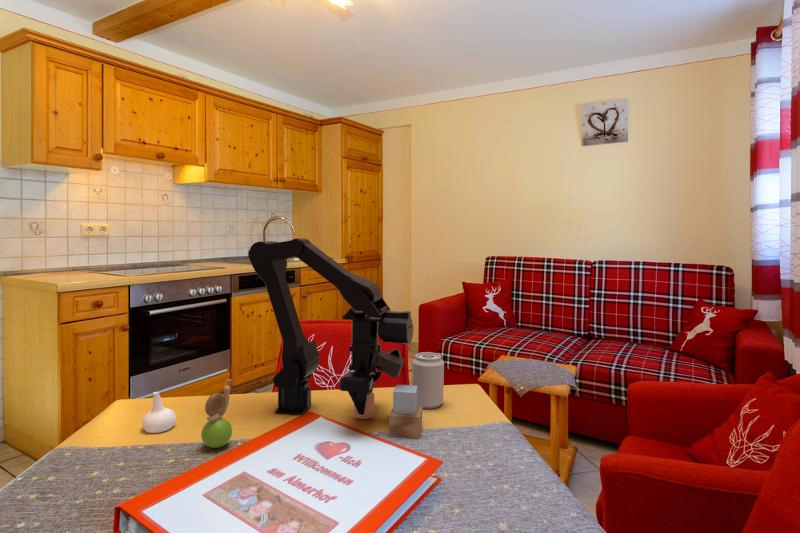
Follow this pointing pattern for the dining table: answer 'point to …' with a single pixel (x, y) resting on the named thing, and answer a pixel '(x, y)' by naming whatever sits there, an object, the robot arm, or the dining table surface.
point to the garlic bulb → (158, 417)
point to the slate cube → (405, 399)
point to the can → (428, 379)
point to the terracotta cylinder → (366, 408)
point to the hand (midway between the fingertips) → (364, 410)
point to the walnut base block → (406, 424)
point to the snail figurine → (217, 420)
